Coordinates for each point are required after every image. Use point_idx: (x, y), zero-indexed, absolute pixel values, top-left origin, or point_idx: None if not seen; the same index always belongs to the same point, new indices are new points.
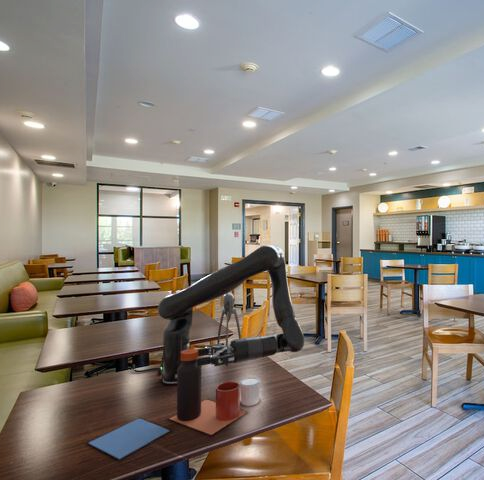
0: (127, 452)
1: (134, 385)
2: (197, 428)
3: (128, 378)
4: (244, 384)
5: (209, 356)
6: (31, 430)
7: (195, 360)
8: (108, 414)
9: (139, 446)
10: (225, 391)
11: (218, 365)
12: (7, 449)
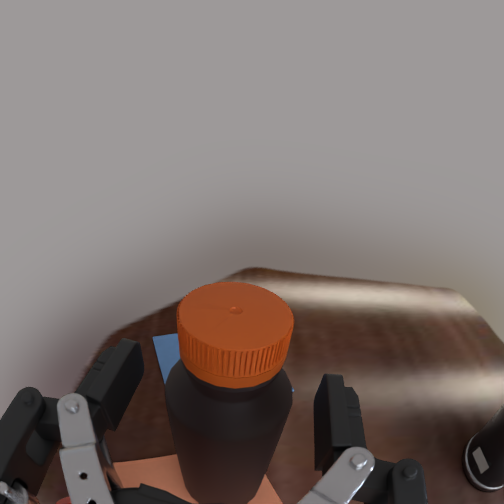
0: (160, 347)
1: (471, 387)
2: (128, 464)
3: (499, 375)
4: None
5: (97, 395)
6: (339, 289)
7: (184, 366)
8: (350, 353)
9: (163, 364)
10: (59, 500)
11: (35, 434)
12: (297, 275)
